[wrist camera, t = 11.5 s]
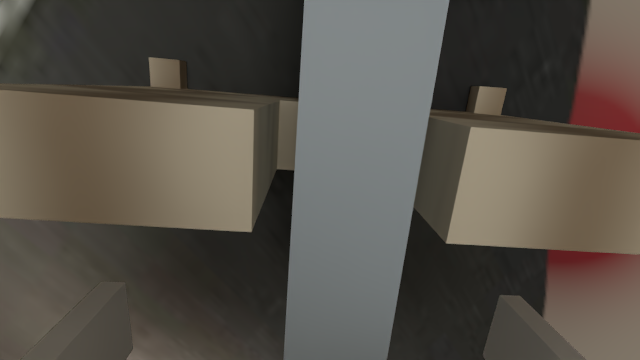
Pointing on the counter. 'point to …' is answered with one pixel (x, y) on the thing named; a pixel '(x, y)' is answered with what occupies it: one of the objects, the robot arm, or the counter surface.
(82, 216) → the slotted stand
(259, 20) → the counter surface
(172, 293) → the counter surface
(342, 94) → the slotted plate
